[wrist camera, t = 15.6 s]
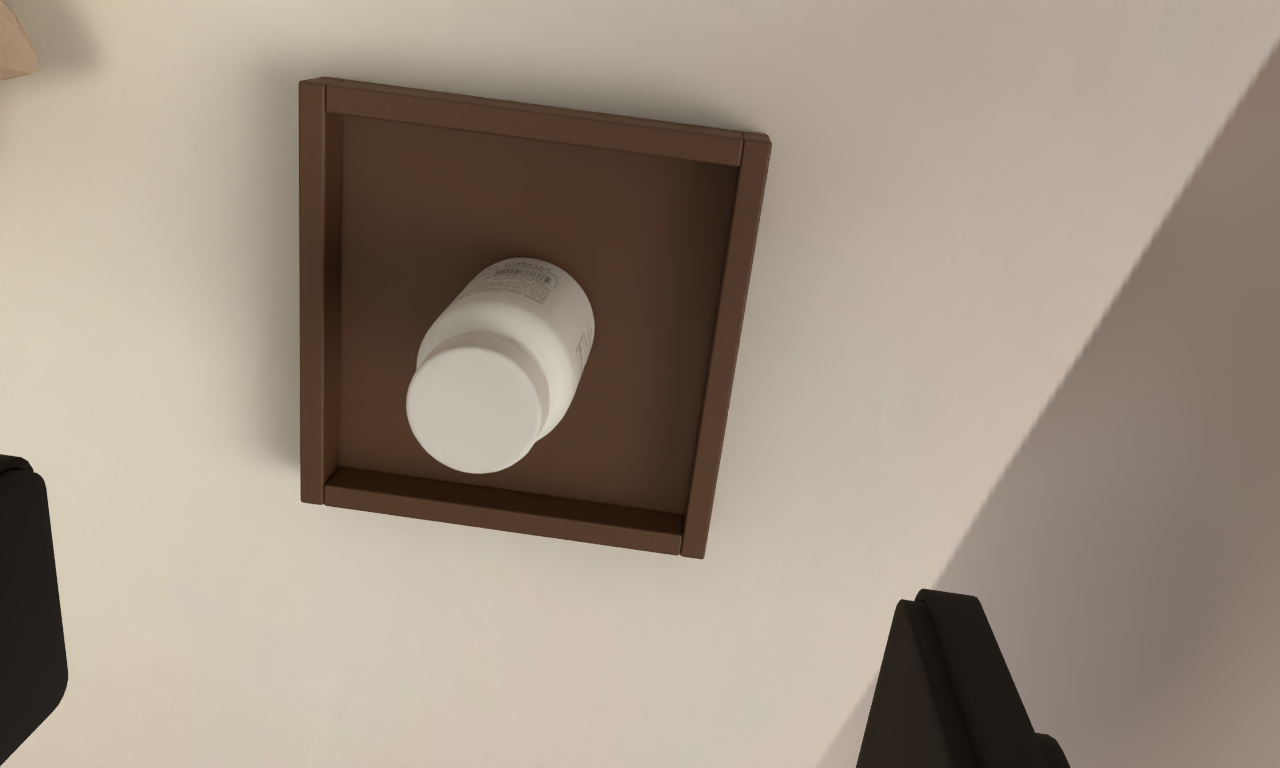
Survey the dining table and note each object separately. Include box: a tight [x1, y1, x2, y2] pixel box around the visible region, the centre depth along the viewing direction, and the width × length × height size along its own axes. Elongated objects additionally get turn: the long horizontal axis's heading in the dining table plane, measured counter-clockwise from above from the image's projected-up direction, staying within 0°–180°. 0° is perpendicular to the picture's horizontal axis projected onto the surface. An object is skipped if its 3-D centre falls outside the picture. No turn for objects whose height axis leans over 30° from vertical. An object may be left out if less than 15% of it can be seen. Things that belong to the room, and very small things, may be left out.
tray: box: [299, 77, 772, 559], centre depth 31 cm, size 14×14×2 cm
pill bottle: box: [406, 258, 595, 474], centre depth 28 cm, size 4×4×8 cm
